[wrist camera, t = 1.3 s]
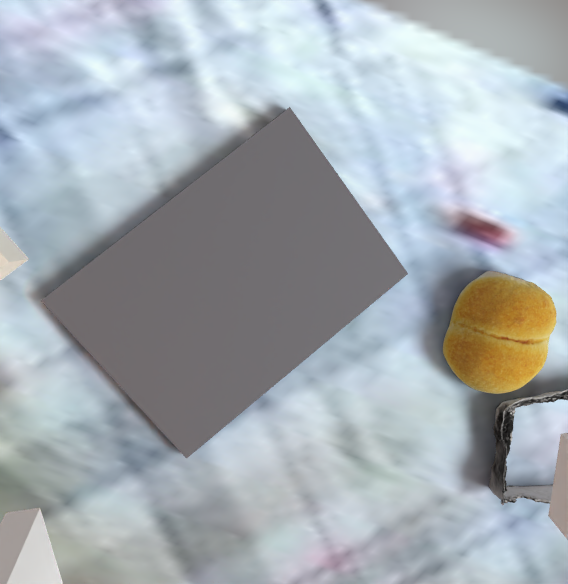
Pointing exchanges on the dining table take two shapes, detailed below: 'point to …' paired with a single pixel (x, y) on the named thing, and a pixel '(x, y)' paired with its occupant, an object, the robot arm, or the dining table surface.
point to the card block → (9, 255)
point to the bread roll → (499, 333)
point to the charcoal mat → (229, 284)
